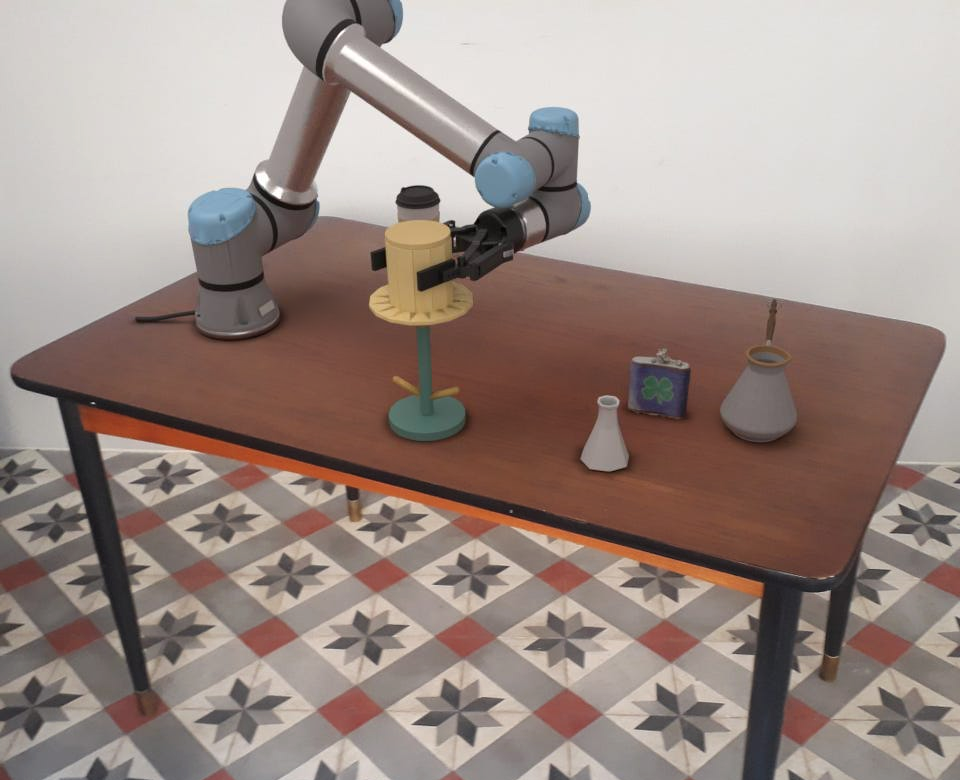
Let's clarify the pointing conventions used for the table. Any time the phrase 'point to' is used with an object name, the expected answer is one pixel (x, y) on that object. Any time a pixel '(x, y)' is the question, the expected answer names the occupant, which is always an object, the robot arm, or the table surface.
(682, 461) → the table surface
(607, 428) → the flask
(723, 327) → the table surface
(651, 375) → the flask
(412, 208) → the coffee cup
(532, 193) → the robot arm
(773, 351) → the coffee pot
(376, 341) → the table surface
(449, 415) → the hat stand
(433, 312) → the hat
